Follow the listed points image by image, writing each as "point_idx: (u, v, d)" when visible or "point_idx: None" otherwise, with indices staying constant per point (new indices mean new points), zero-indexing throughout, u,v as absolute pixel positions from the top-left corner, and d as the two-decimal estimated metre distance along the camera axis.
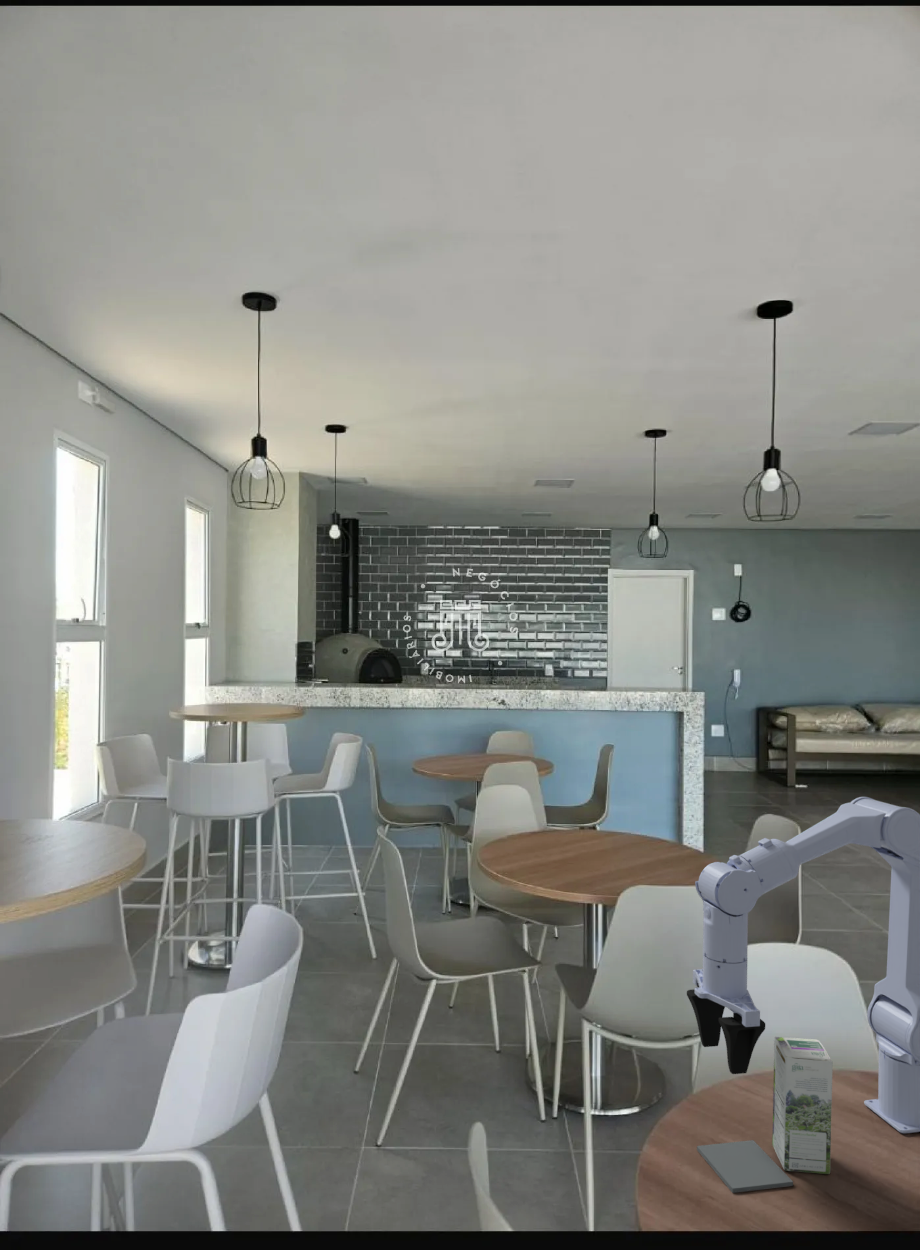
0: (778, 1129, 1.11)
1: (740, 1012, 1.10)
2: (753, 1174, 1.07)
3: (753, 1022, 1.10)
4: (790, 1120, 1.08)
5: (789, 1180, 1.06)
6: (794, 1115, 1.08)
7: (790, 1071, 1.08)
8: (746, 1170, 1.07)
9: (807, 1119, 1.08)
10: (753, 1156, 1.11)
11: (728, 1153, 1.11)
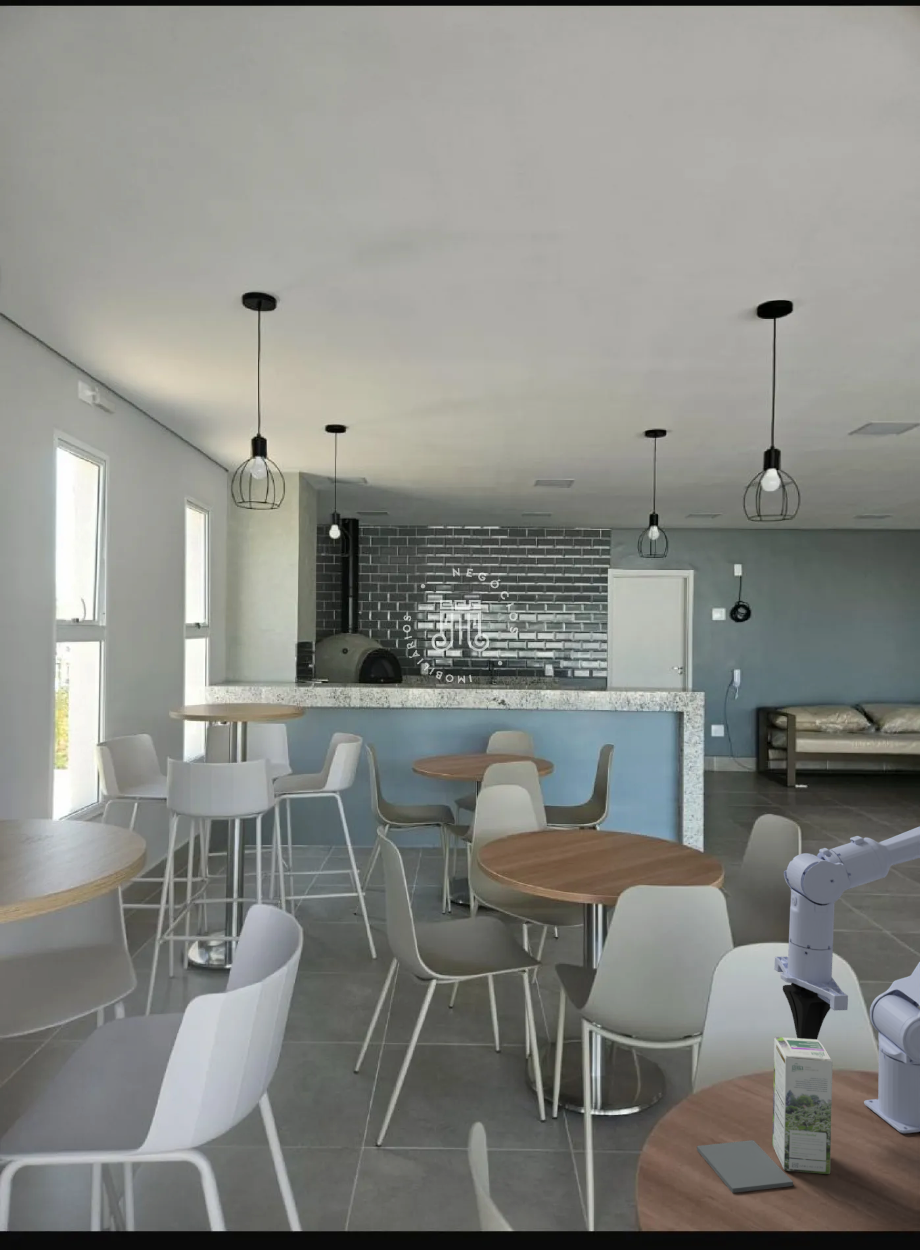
0: (778, 1129, 1.11)
1: (828, 996, 1.15)
2: (753, 1174, 1.07)
3: (841, 1006, 1.15)
4: (790, 1120, 1.08)
5: (789, 1180, 1.06)
6: (794, 1115, 1.08)
7: (790, 1071, 1.08)
8: (746, 1170, 1.07)
9: (807, 1119, 1.08)
10: (753, 1156, 1.11)
11: (728, 1153, 1.11)
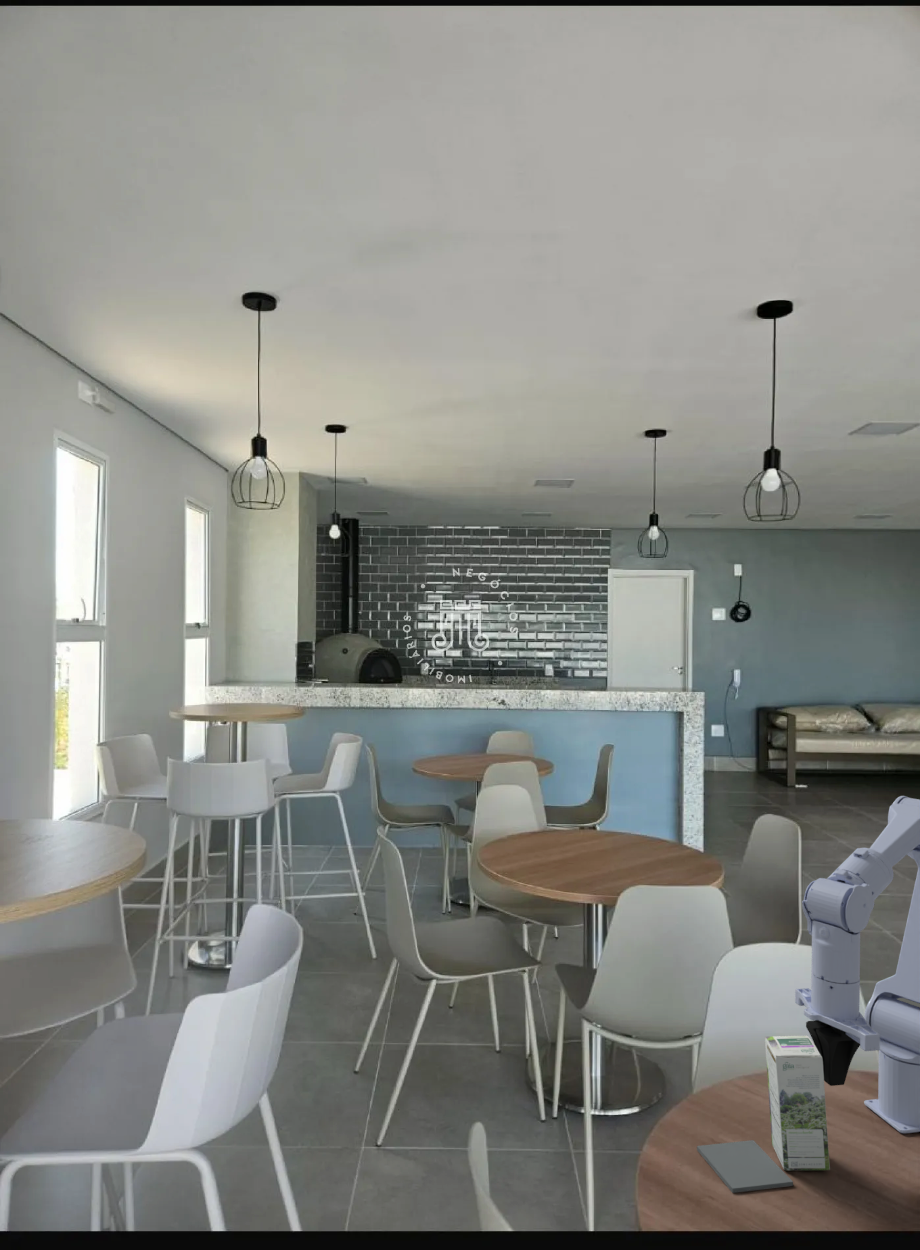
0: (775, 1129, 1.11)
1: (858, 1035, 1.06)
2: (753, 1174, 1.07)
3: (873, 1046, 1.05)
4: (785, 1120, 1.08)
5: (789, 1180, 1.06)
6: (789, 1114, 1.08)
7: (781, 1070, 1.08)
8: (746, 1170, 1.07)
9: (802, 1117, 1.08)
10: (753, 1156, 1.11)
11: (728, 1153, 1.11)
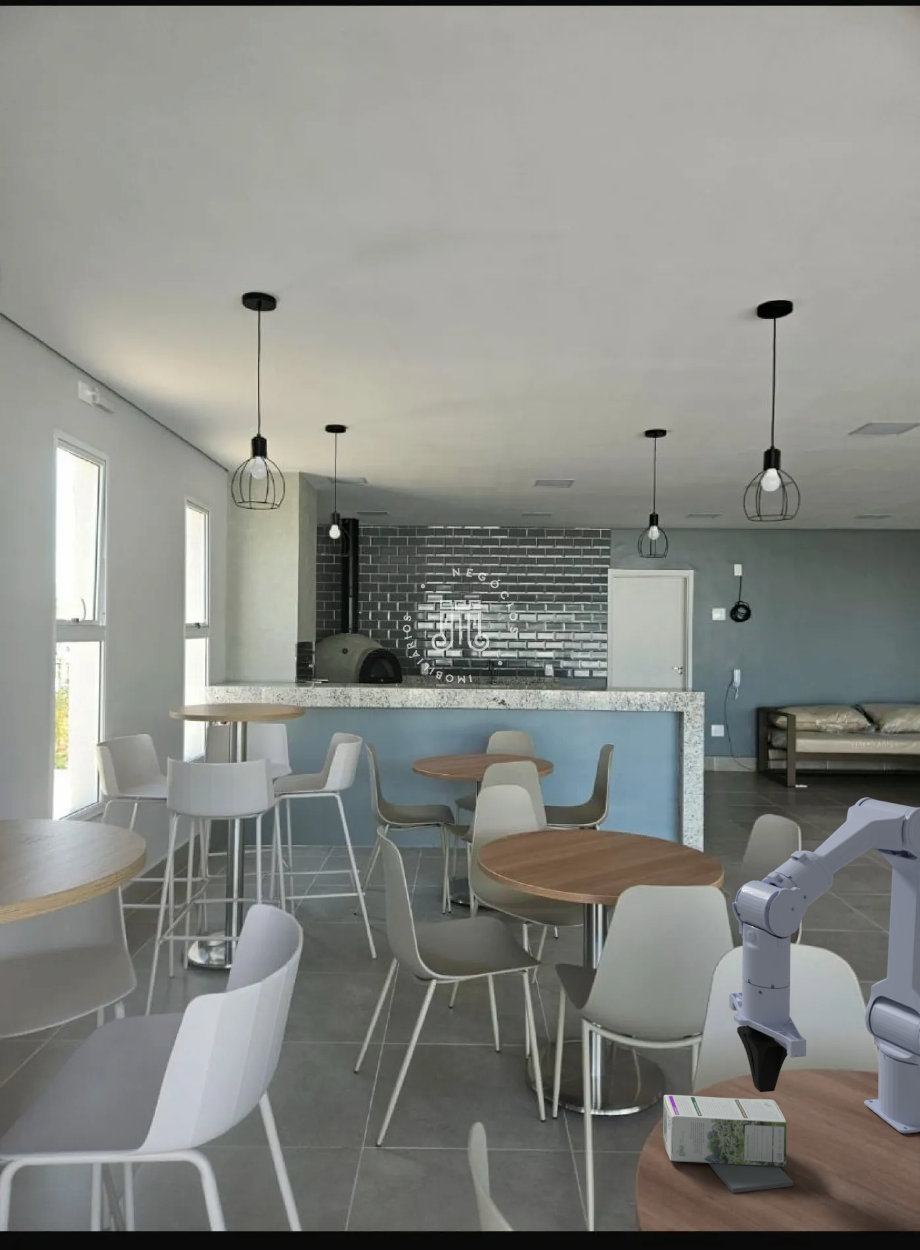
0: None
1: (785, 1041, 1.04)
2: (753, 1174, 1.07)
3: (799, 1052, 1.03)
4: (735, 1159, 1.09)
5: (789, 1180, 1.06)
6: (729, 1155, 1.09)
7: (685, 1157, 1.09)
8: (746, 1170, 1.07)
9: (732, 1143, 1.09)
10: None
11: None
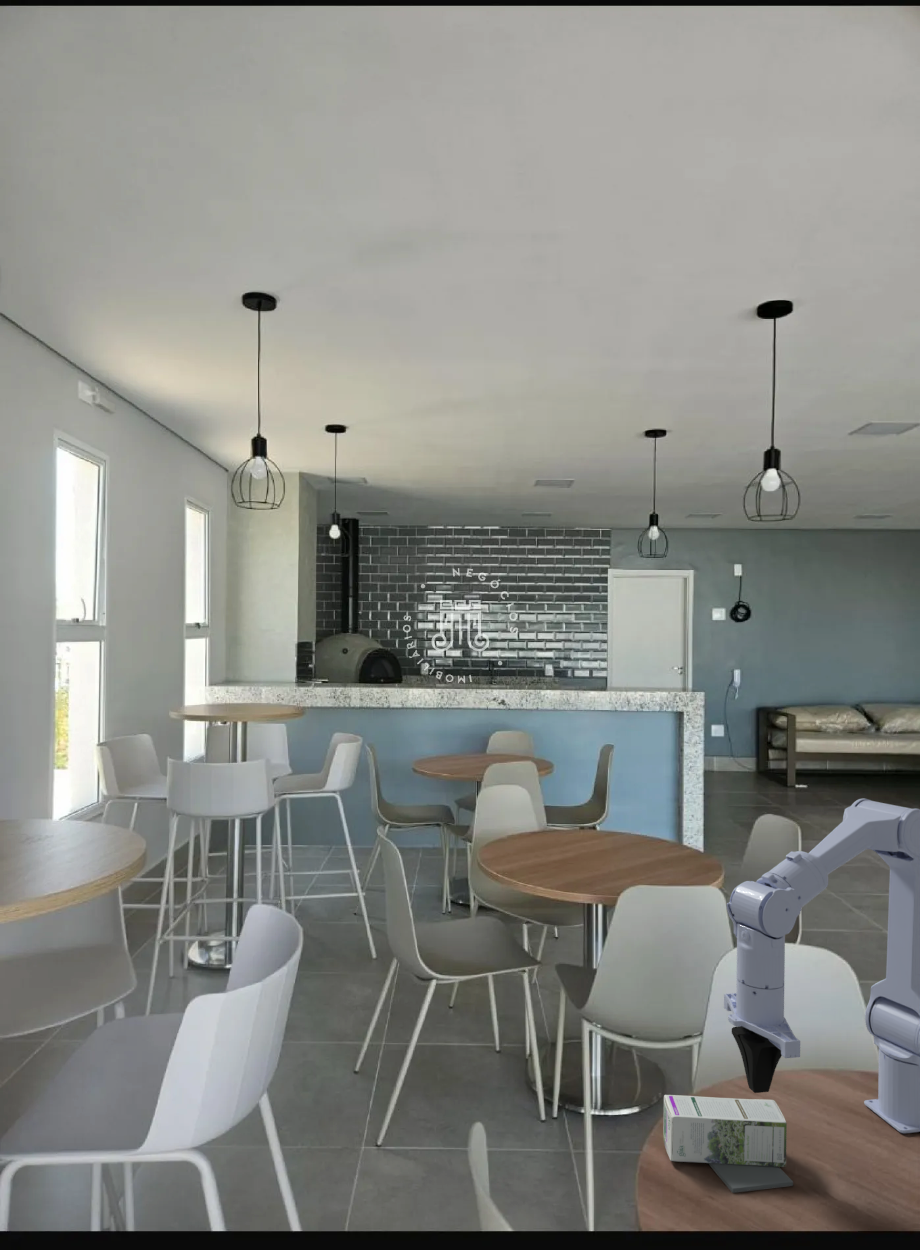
0: None
1: (779, 1042, 1.04)
2: (753, 1174, 1.07)
3: (793, 1052, 1.03)
4: (735, 1159, 1.09)
5: (789, 1180, 1.06)
6: (729, 1155, 1.09)
7: (685, 1157, 1.09)
8: (746, 1170, 1.07)
9: (732, 1143, 1.09)
10: None
11: None
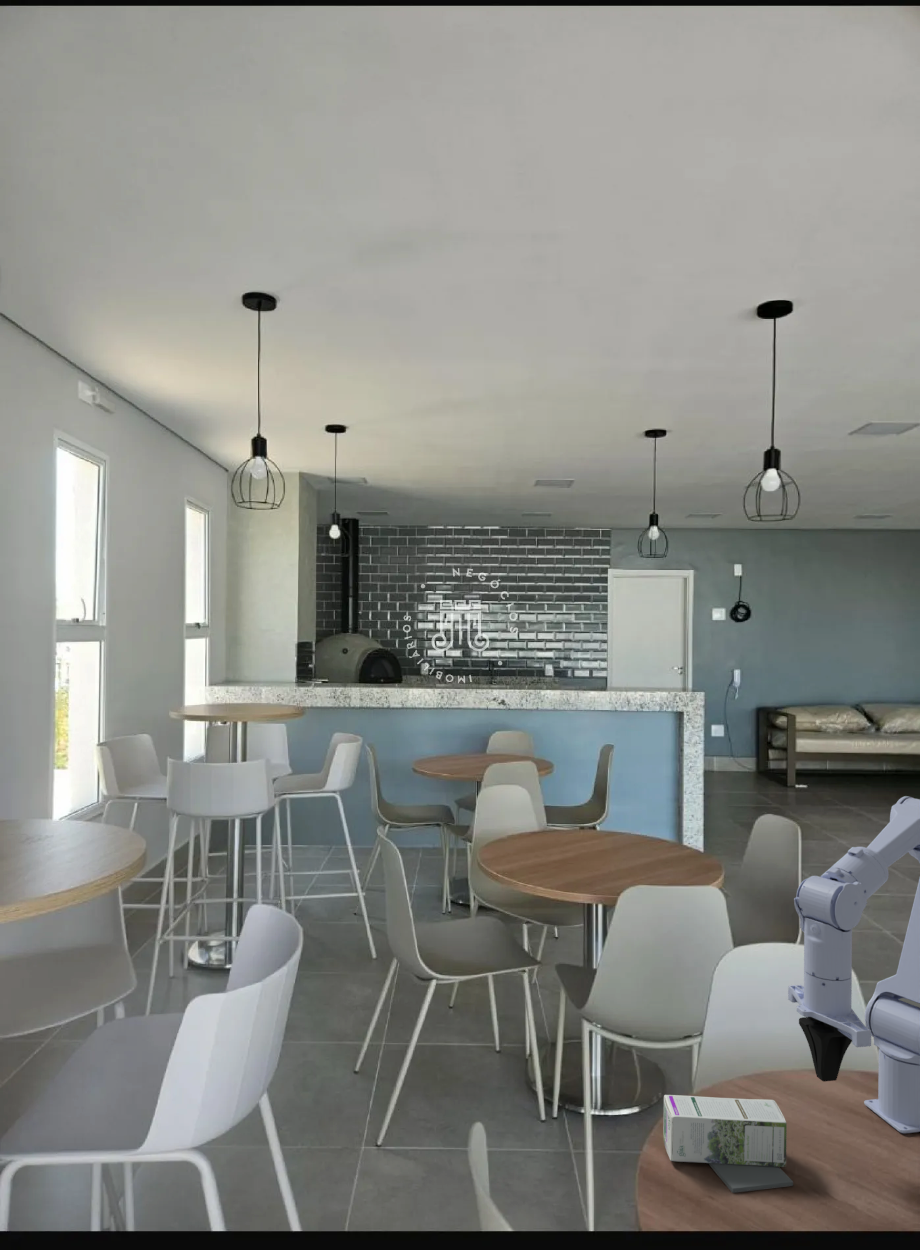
0: None
1: (850, 1032, 1.07)
2: (753, 1174, 1.07)
3: (864, 1042, 1.06)
4: (735, 1159, 1.09)
5: (789, 1180, 1.06)
6: (729, 1155, 1.09)
7: (685, 1157, 1.09)
8: (746, 1170, 1.07)
9: (732, 1143, 1.09)
10: None
11: None
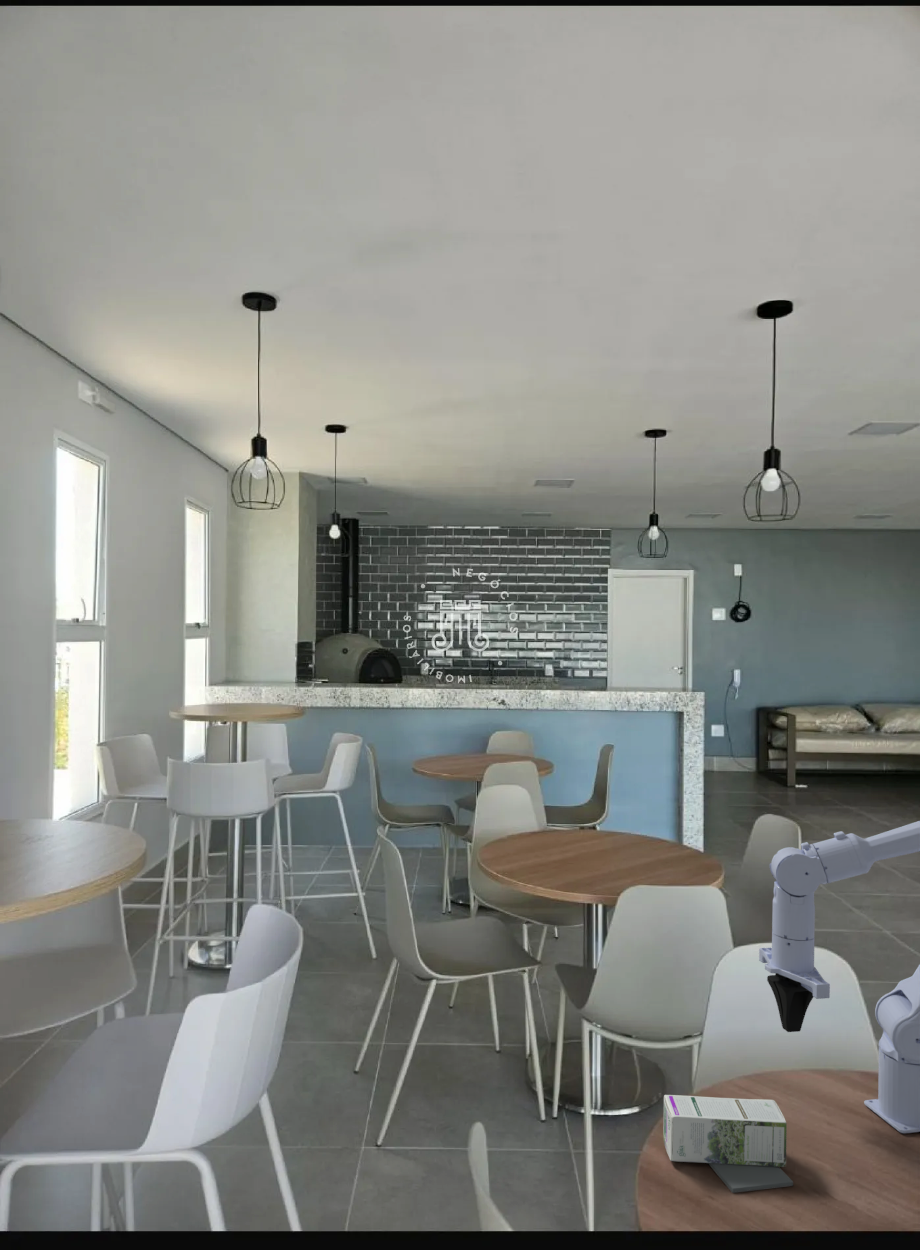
0: None
1: (811, 985, 1.19)
2: (753, 1174, 1.07)
3: (823, 994, 1.18)
4: (735, 1159, 1.09)
5: (789, 1180, 1.06)
6: (729, 1155, 1.09)
7: (685, 1157, 1.09)
8: (746, 1170, 1.07)
9: (732, 1143, 1.09)
10: None
11: None
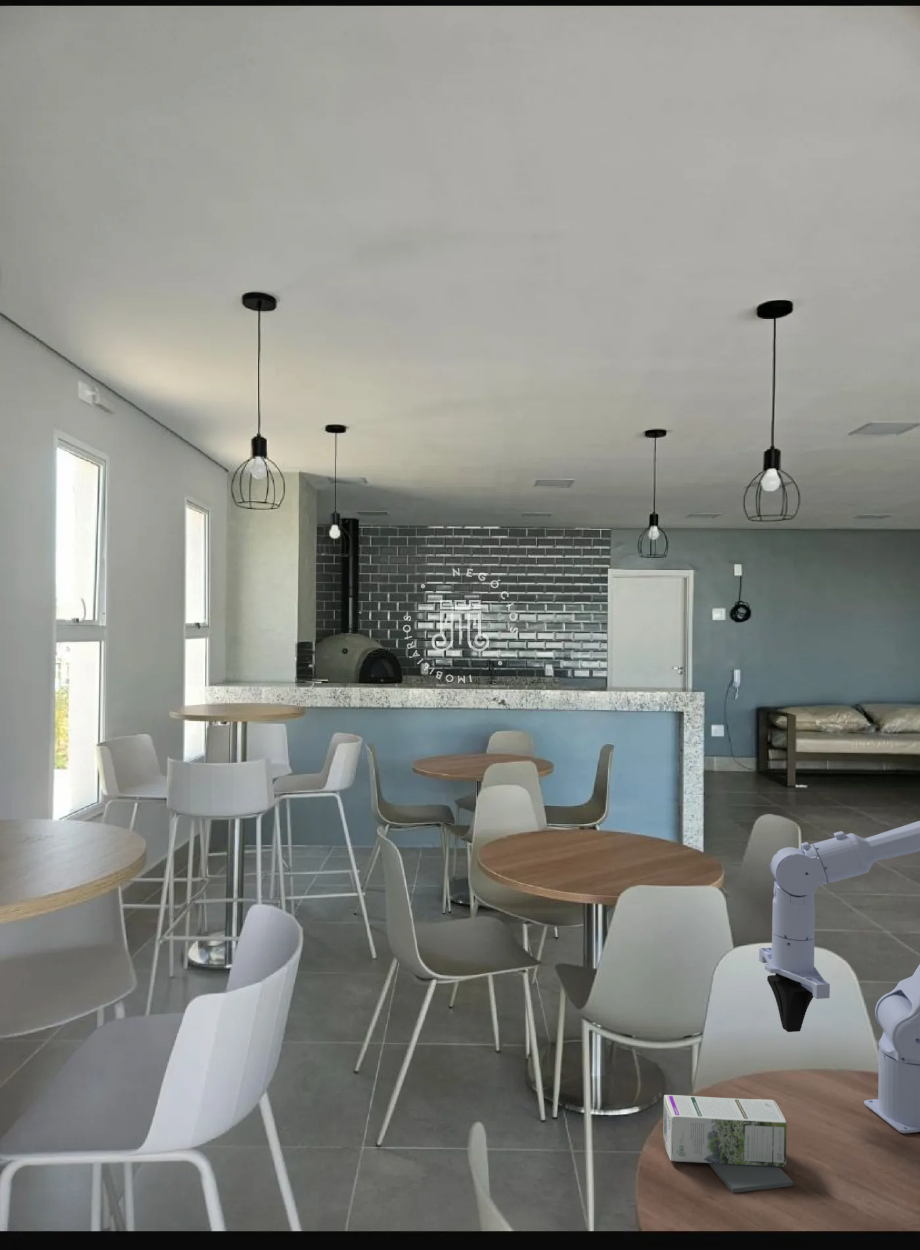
0: None
1: (811, 985, 1.19)
2: (753, 1174, 1.07)
3: (823, 994, 1.18)
4: (735, 1159, 1.09)
5: (789, 1180, 1.06)
6: (729, 1155, 1.09)
7: (685, 1157, 1.09)
8: (746, 1170, 1.07)
9: (732, 1143, 1.09)
10: None
11: None
